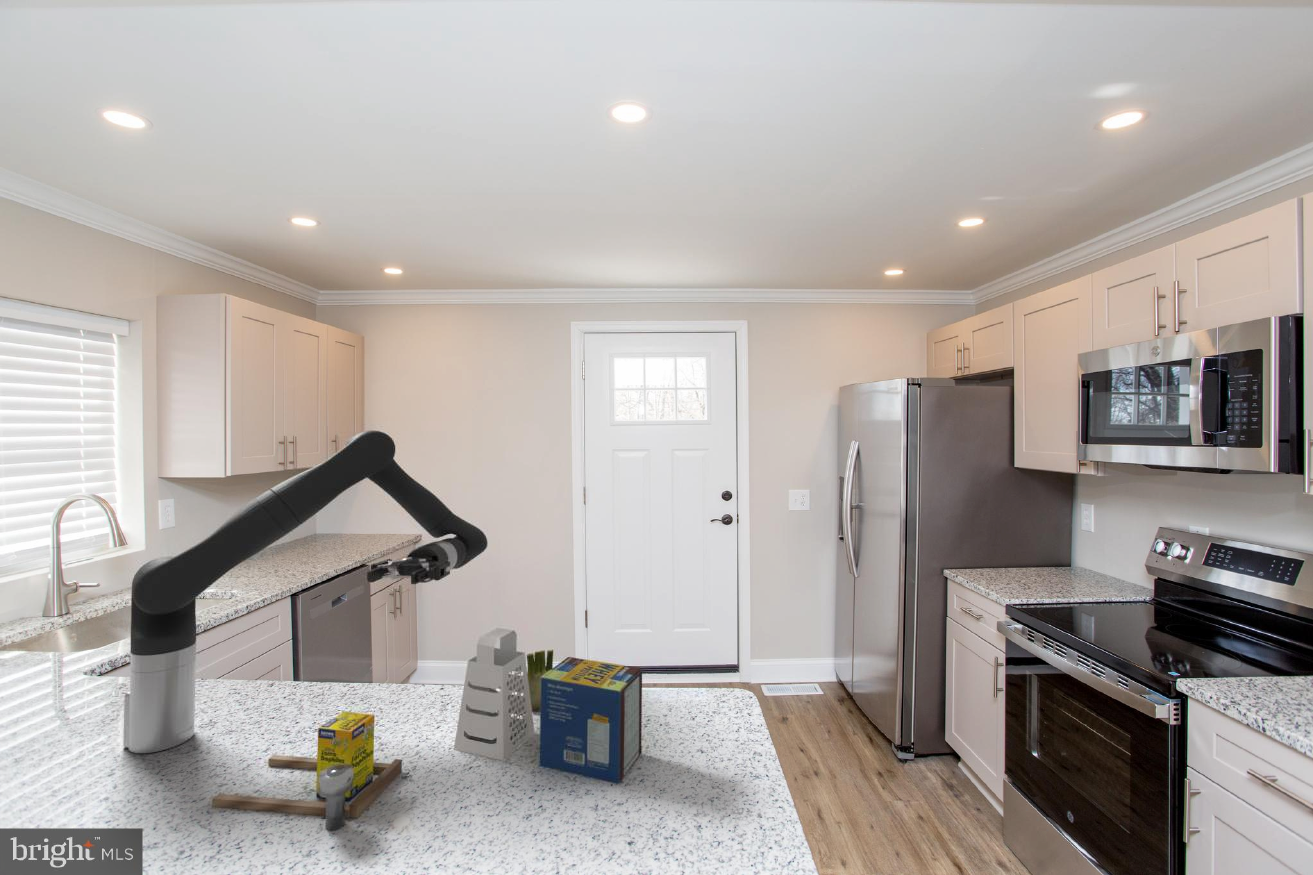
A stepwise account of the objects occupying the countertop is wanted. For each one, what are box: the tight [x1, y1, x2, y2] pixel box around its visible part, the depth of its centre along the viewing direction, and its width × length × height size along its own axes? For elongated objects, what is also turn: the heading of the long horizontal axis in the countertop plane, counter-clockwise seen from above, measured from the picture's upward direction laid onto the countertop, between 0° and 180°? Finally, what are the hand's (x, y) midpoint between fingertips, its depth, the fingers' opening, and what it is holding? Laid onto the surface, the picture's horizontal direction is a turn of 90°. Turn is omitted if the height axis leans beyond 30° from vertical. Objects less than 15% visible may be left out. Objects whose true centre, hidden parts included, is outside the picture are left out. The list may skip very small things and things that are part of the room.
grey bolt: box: [318, 764, 353, 832], centre depth 85 cm, size 4×4×8 cm
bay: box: [211, 754, 403, 819], centre depth 94 cm, size 23×12×2 cm, turn 84°
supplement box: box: [315, 710, 375, 802], centre depth 93 cm, size 6×6×11 cm
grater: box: [453, 627, 536, 762], centre depth 109 cm, size 10×10×20 cm
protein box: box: [538, 656, 643, 784], centre depth 103 cm, size 10×15×16 cm
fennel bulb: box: [526, 649, 554, 711], centre depth 123 cm, size 6×5×12 cm
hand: (391, 577), depth 110 cm, fingers open, 8 cm apart
